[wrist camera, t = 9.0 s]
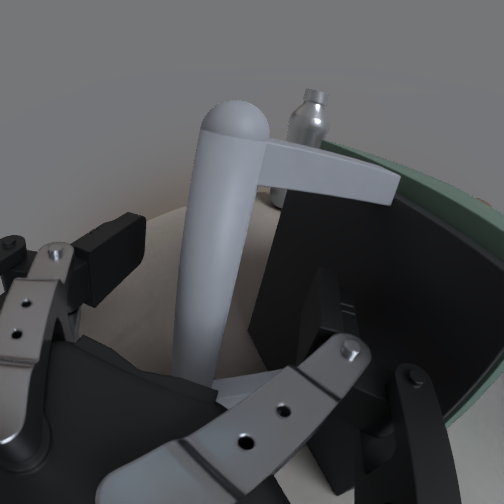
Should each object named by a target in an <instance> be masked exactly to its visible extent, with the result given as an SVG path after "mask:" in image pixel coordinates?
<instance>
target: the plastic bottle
mask: <svg viewBox="0 0 504 504" xmlns="http://www.w3.org/2000/svg"><path fill="white" fill-rule="evenodd" d="M327 99H328V94H325V93H323V92H319V91H316V90H311V89H306V90H305V94H304V97H303V100H304V103H303V104H302V105H301V106H300V107H298V108H297V109H296V110H295V111H294V112H293V113H292V114H291V116H290V118H289V125H288V132H287V142H291V143H296V144H300V145H305V146H309V147H313V148H317V149H319V148H320V145H321V141H322V140H325V139H326V135H327V134H328V131H329V121H328V117H327V115H326V113H325V110H324V106H327ZM286 192H287V189H280V188H272V187H271V189H270V199H271V202H272V203H273V204H274V205H275V206H277V207H279V208H282V207H283V203H284V200H285V196H286Z"/></svg>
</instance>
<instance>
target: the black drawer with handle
mask: <svg viewBox="0 0 504 504" xmlns="http://www.w3.org/2000/svg"><path fill="white" fill-rule="evenodd" d="M269 137H270V129H269V125H268V121H267V119H266V118H265V116H264V114H263V113H262V112H261V111H260V110H259V109H258V108H257V107H255V106H254V105H252V104H250V103H248V102H245V101H239V100H232V101H226V102H223V103H220V104H218V105H217V106H215V107H214V108H212V109H211V110H210V111H209V112H208V113H207V115H206V116H205V118H204V119H203V121H202V124H201V128H200V133H199V138H198V143H197V149H196V154H195V160H194V166H193V172H192V178H191V184H190V190H189V197H188V204H187V211H186V218H185V225H184V233H183V240H182V249H181V257H180V266H179V275H178V285H177V296H176V307H175V320H174V333H173V349H172V368H171V376H173V377H180V378H183V379H186V380H189V381H192V382H194V383H197V384H200V385H203V386H206V387H209V388H212V389H215V390H218V391H219V392H218V396H217V400H216V402H218V403H220V404H221V405H223V406H224V407H226V408H227V409H230V408H232V407H233V406H234V405H236V404H237V403H239V402H240V401H241V400H243V399H244V398H246V397H247V396H248V395H250V394H251V393H252V392H254V391H255V390H257V389H258V388H259V387H261V386H262V385H263V384H265V383H266V382H267V381H268V380H270V379H271V378H272V377H274V376H275V375H276V374H278V373H279V372H280V371H281V370H283V369H284V368H285V367H287V366H288V365H290V364H293V365H295V366H296V361H297V352H298V342H299V333H300V322H301V314H302V309H303V306H304V303H305V300H306V297H307V295H308V292H309V290H310V287H311V284H312V282H313V279H314V277H315V274H316V271H317V269H318V268H323V269H326V270H330V271H333V272H336V273H338V280H339V287H342V288H346V289H347V290H348V291H349V293H350V294H351V295H352V297H353V300H354V305H355V307H354V308H355V312H356V315H355V316H356V318H357V324H358V331H359V338H360V339H361V340H363V341H364V342H365V343H366V344H367V345H368V346H369V348H370V350H371V352H372V360H373V361H374V362H376V363H378V364H379V365H381V366H384V367H386V368H388V369H390V370H392V371H394V370H395V369H396V368H397V366H399V365H400V364H402V363H411V364H415V365H417V366H419V367H420V368H422V369H423V370H424V371H425V372H426V373H427V374H428V375H429V377H430V378H431V381H432V383H433V386H434V390H435V393H436V396H437V399H438V402H439V406H440V409H441V412H442V416H443V419H445V418H446V417H447V416H448V415H449V414H450V413H451V412H452V411H453V410H454V409H455V408H456V407H457V406H458V405H459V404H460V403H461V402H462V401H463V400H464V398H465V397H466V396H467V395H468V394H469V393H470V392H471V391H472V390H473V389H474V388H475V386H476V385H477V384H478V383H479V382H480V381H481V380H482V378H483V377H484V376H485V375H486V374H487V372H488V371H489V370H490V369H491V367H492V366H493V365H494V364H495V362H496V361H497V360H498V359H499V357H500V356H501V355H502V353H503V352H504V262H503V261H502V260H500V259H499V258H498V257H496V256H495V255H494V254H492V253H491V252H490V251H488V250H487V249H485V248H484V247H483V246H481V245H480V244H478V243H477V242H476V241H474V240H473V239H471V238H470V237H468V236H467V235H465V234H464V233H462V232H461V231H459V230H458V229H456V228H455V227H453V226H452V225H450V224H449V223H447V222H446V221H444V220H442V219H441V218H439V217H438V216H436V215H434V214H433V213H431V212H430V211H428V210H426V209H425V208H423V207H421V206H420V205H418V204H416V203H414V202H413V201H411V200H409V199H407V198H406V197H404V196H402V195H400V194H399V193H397V192H396V189H397V187H398V184H399V181H400V178H401V176H400V175H398V174H396V173H394V172H392V171H389V170H387V169H385V168H383V167H381V166H378V165H375V164H372V163H368V162H365V161H362V160H358V159H355V158H351V157H348V156H344V155H340V154H337V153H333V152H329V151H325V150H321V149H317V148H313V147H309V146H305V145H300V144H296V143H291V142H287V141H282V140H276V139H272V138H269ZM258 186H264V187H272V188H280V189H287V192H286V196H285V200H284V203H283V207H282V211H281V214H280V218H279V222H278V225H277V229H276V233H275V236H274V240H273V243H272V247H271V250H270V254H269V257H268V261H267V265H266V268H265V272H264V275H263V279H262V282H261V286H260V289H259V293H258V296H257V299H256V303H255V306H254V310H253V313H252V317H251V320H250V324H249V327H248V332H249V334H250V336H251V338H252V340H253V342H254V344H255V346H256V348H257V350H258V352H259V354H260V356H261V358H262V359H263V361H264V363H265V365H266V367H267V369H268V372H262V373H256V374H250V375H243V376H236V377H229V378H221V379H214V375H215V370H216V366H217V361H218V357H219V352H220V348H221V344H222V339H223V335H224V330H225V326H226V322H227V317H228V313H229V308H230V304H231V300H232V295H233V291H234V287H235V282H236V278H237V274H238V269H239V265H240V261H241V256H242V252H243V248H244V244H245V239H246V235H247V231H248V227H249V222H250V218H251V214H252V210H253V205H254V201H255V197H256V193H257V189H258ZM307 444H308V446H309V448H310V450H311V451H312V453H313V455H314V457H315V458H316V460H317V462H318V464H319V465H320V467H321V469H322V471H323V472H324V474H325V476H326V478H327V479H328V481H329V483H330V485H331V486H332V488H333V490H334V491H335V493H336V495H337V496H339V495H341V494H343V493H345V492H347V491H349V490H351V489H353V488H354V450H353V430H352V426H351V425H348V424H346V423H344V422H342V421H340V420H338V419H336V418H334V417H332V416H330V417H329V418H328V419H327V420H326V422H325V423H324V424H323V425H322V426H321V427H320V428H319V429H318V431H317V432H316V433H315V434H314V435H313V436H312V437H311V438H310V439H309V440H308V441H307Z"/></svg>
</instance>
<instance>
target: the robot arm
mask: <svg viewBox="0 0 504 504" xmlns="http://www.w3.org/2000/svg"><path fill="white" fill-rule="evenodd" d="M145 235H146V218H145V217H144V216H141V215H137V214H134V213H130V212H127V213H126V214H124V215H122V216H120V217H119V218H117V219H115V220H113V221H110V222H106V223H103V224H102V225H100V226H99V227H97V228H96V229H93V230H92V231H90V232H89V233H87V234H85V235H84V236H82V237H81V238H79V239H78V240H76V241H75V242H73V243H71V244H68V243H65V242H53V243H49V244H46V245H44V246H43V247H41V248H40V249H39V251H38V252H35V251H29V250H27V249H26V243H25V239H24V238H23V237H21V236H18V235H11V236H7V237H4V238H2V239H0V276H1V279H2V283H3V287H4V290H5V292H4V293H3V294H1V295H0V504H290V502H289V500H288V499H287V497H286V496H285V494H284V492H283V491H282V489H281V487H280V485H279V484H278V482H277V480H276V479H275V477H274V475H275V474H276V473H277V472H278V471H279V470H280V469H281V468H282V467H283V466H284V465H285V464H286V463H287V462H288V461H289V460H290V459H291V458H292V457H293V456H294V455H295V454H296V453H297V452H298V451H299V450H300V449H301V448H302V447H303V446H304V445H305V444H306V443H307V441H308V440H309V439H310V438H311V437H312V436H313V435H314V434H315V433H316V432H317V431H318V429H319V428H320V427H321V426H322V425H323V424H324V423H325V422H326V420H327V419H328V418H329V417H330V416H332V417H334V418H336V419H338V420H340V421H342V422H344V423H346V424H348V425H351V426H352V430H353V450H354V489H355V502H354V504H461V497H460V491H459V485H458V479H457V474H456V469H455V464H454V459H453V455H452V451H451V446H450V442H449V438H448V434H447V430H446V427H445V423H444V419H443V416H442V412H441V409H440V406H439V402H438V399H437V396H436V393H435V390H434V386H433V383H432V381H431V378H430V377H429V375H428V374H427V373H426V372H425V371H424V370H423V369H422V368H420V367H419V366H417V365H415V364H411V363H402V364H400V365H399V366H397V368H396V369H395V370H394V371H392V370H390V369H388V368H386V367H384V366H381V365H379V364H378V363H376V362H374V361H373V360H372V352H371V350H370V348H369V346H368V345H367V344H366V343H365V342H364V341H363V340H361V339H360V338H359V331H358V324H357V318H356V316H355V315H356V312H355V308H354V307H355V305H354V300H353V297H352V295H351V294H350V293H349V291H348V290H347V289H346V288H342V287H339V280H338V273H336V272H333V271H330V270H326V269H323V268H318V269H317V271H316V274H315V277H314V279H313V282H312V284H311V287H310V290H309V292H308V295H307V297H306V300H305V303H304V306H303V309H302V314H301V322H300V333H299V342H298V352H297V361H296V366H295V365H293V364H290V365H288V366H287V367H285V368H284V369H283V370H281V371H280V372H279V373H278V374H276V375H275V376H274V377H272V378H271V379H270V380H268V381H267V382H266V383H265V384H263V385H262V386H261V387H259V388H258V389H257V390H255V391H254V392H252V393H251V394H250V395H248V396H247V397H246V398H244V399H243V400H241V401H240V402H239V403H237V404H236V405H234V406H233V407H232V408H230V409H229V410H228V409H227V408H226V407H224V406H223V405H221V404H220V403H218V402H216V400H217V396H218V392H219V391H218V390H215V389H212V388H209V387H206V386H203V385H200V384H197V383H194V382H192V381H189V380H186V379H183V378H180V377H173V376H167V375H161V374H156V373H150V372H145V371H141V370H139V369H137V368H136V367H135V366H133V365H132V364H131V363H129V362H128V361H127V360H125V359H124V358H123V357H122V356H120V355H119V354H118V353H117V352H115V351H114V350H113V349H112V348H109V347H107V346H105V345H103V344H101V343H99V342H97V341H95V340H93V339H91V338H89V337H87V336H85V335H82V336H81V338H80V339H79V340H78V338H79V329H80V321H81V305H82V304H83V303H85V304H87V305H89V306H92V307H94V308H95V307H96V306H97V305H98V304H99V303H100V302H101V301H102V300H103V299H104V298H105V297H106V296H107V295H108V294H109V293H110V292H111V291H112V290H113V289H114V288H115V287H117V286H118V285H119V284H120V283H121V282H122V281H123V280H124V279H125V278H126V277H127V276H128V275H129V274H130V273H131V272H132V271H133V270H134V269H135V268H136V267H137V266H139V264H140V263H141V261H142V259H143V256H144V252H145Z"/></svg>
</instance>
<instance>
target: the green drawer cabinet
mask: <svg viewBox="0 0 504 504" xmlns="http://www.w3.org/2000/svg"><path fill="white" fill-rule="evenodd" d="M319 149H321V150H325V151H329V152H333V153H337V154H340V155H344V156H348V157H351V158H355V159H358V160H362V161H365V162H368V163H372V164H375V165H378V166H381V167H383V168H385V169H387V170H389V171H392V172H394V173H396V174H398V175H400V176H401V178H400V181H399V184H398V187H397V189H396V192H397V193H399V194H400V195H402V196H404V197H406V198H407V199H409V200H411V201H413V202H414V203H416V204H418V205H420V206H421V207H423V208H425V209H426V210H428V211H430V212H431V213H433V214H434V215H436V216H438V217H439V218H441V219H442V220H444V221H446V222H447V223H449V224H450V225H452V226H453V227H455V228H456V229H458V230H459V231H461V232H462V233H464V234H465V235H467V236H468V237H470V238H471V239H473V240H474V241H476V242H477V243H478V244H480V245H481V246H483V247H484V248H485V249H487V250H488V251H490V252H491V253H492V254H494V255H495V256H496V257H498V258H499V259H500V260H502V261H503V262H504V215H503V214H501V213H500V212H498V211H497V210H495V209H493V208H492V207H490V206H488V205H487V204H485V203H483V202H481V201H480V200H478V199H476V198H474V197H473V196H470V195H469V194H467V193H465V192H463V191H462V190H460V189H458V188H456V187H454V186H452V185H450V184H448V183H445V182H443V181H441V180H438V179H436V178H434V177H431V176H428V175H426V174H424V173H421V172H419V171H416V170H414V169H411V168H408V167H406V166H403V165H400V164H398V163H395V162H392V161H389V160H387V159H384V158H381V157H378V156H375V155H372V154H369V153H366V152H362V151H359V150H356V149H353V148H350V147H346V146H343V145H340V144H336V143H333V142H329V141H326V140H322V141H321V145H320V148H319ZM503 371H504V352H503V353H502V355H501V356H500V357H499V359H498V360H497V361H496V362H495V364H494V365H493V366H492V367H491V369H490V370H489V371H488V372H487V374H486V375H485V376H484V377H483V378H482V380H481V381H480V382H479V383H478V384H477V385H476V386H475V388H474V389H473V390H472V391H471V392H470V393H469V394H468V395H467V396H466V397H465V398H464V400H463V401H462V402H461V403H460V404H459V405H458V406H457V407H456V408H455V409H454V410H453V411H452V412H451V413H450V414H449V415H448V416H447V417H446V418H445V419H444V423H445V427H446V429H447V428H448V427H449V426H450V425H451V424H452V423H453V422H455V421H456V420H457V419H458V418H459V417H460V416H461V415H462V414H463V413H465V412H466V411H467V410H468V409H469V408H470V407H471V406H472V405H473V404H474V403H475V402H476V401H477V400H478V399H479V398H480V397H481V396H482V395H483V394H484V393H485V392H486V390H487V389H488V388H489V387H490V386H491V385H492V384H493V383H494V381H495V380H496V379H497V378H498V377H499V375H500V374H501V373H502V372H503Z"/></svg>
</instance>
